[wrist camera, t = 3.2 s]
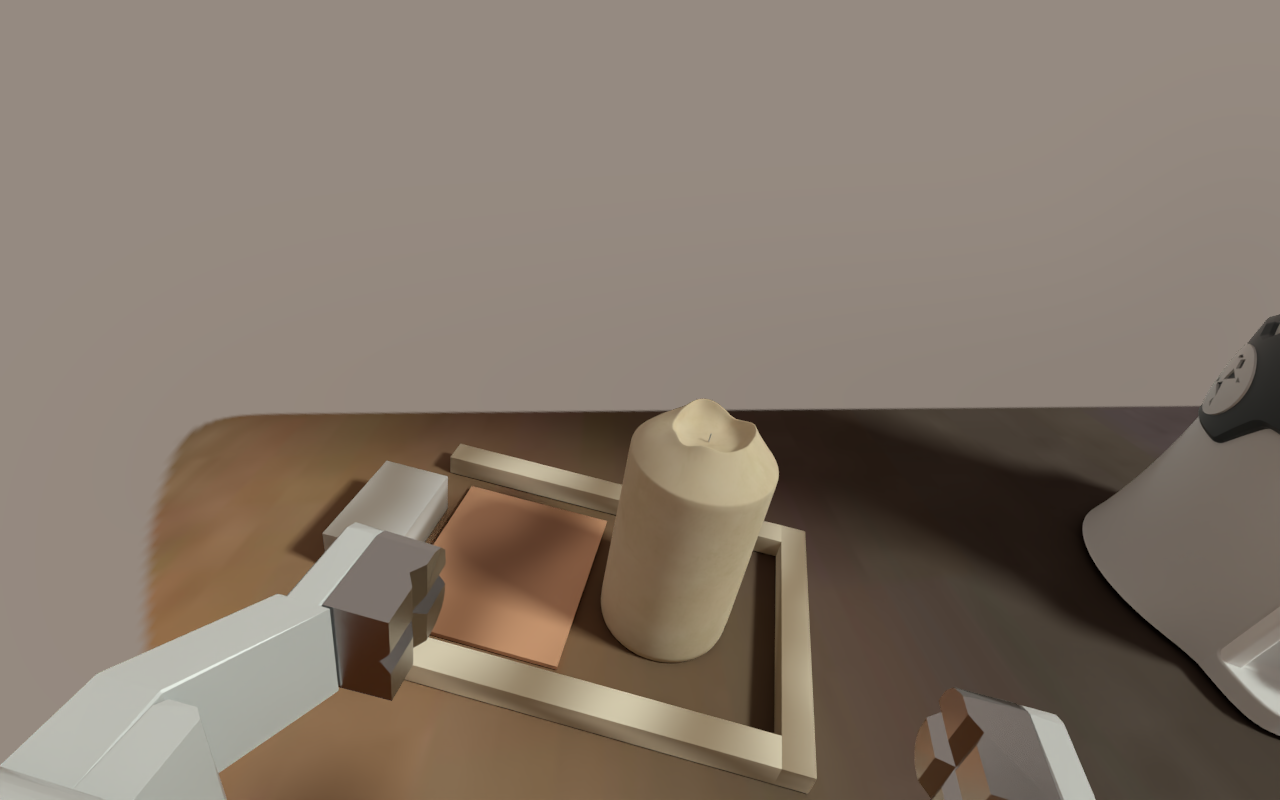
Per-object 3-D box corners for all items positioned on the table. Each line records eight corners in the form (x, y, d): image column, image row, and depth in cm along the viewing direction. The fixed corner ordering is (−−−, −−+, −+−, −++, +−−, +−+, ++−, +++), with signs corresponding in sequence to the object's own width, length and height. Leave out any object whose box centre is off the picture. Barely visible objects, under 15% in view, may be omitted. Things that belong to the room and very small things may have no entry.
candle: (596, 558, 30) (630, 374, 24) (711, 563, 31) (767, 387, 25) (602, 664, 25) (645, 466, 20) (736, 666, 26) (812, 478, 21)
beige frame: (799, 545, 33) (811, 516, 32) (807, 793, 22) (826, 763, 21) (424, 449, 34) (423, 418, 33) (267, 640, 24) (258, 604, 23)
